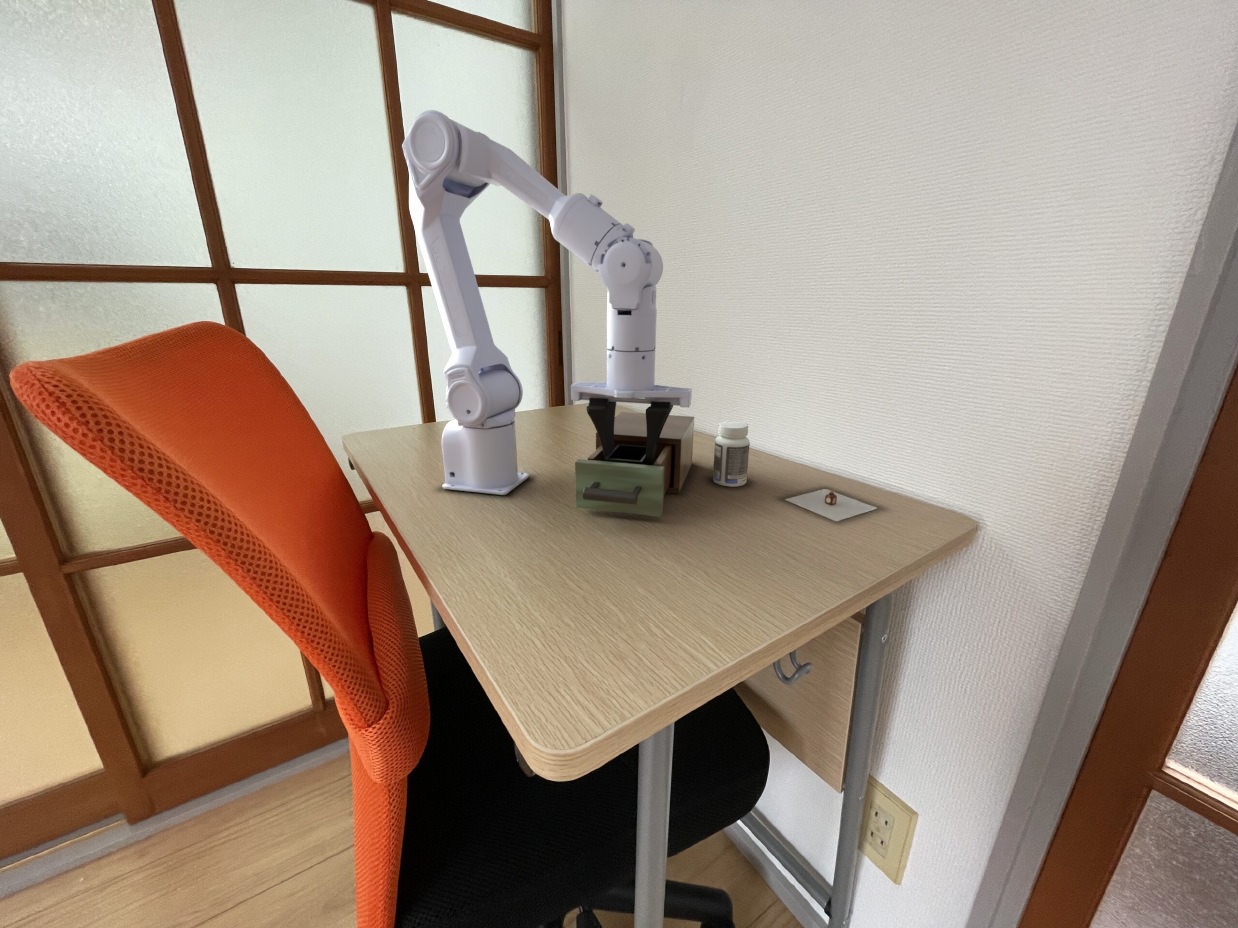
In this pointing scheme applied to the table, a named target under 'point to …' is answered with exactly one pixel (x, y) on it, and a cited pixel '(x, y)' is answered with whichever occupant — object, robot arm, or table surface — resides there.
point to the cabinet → (660, 440)
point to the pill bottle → (731, 454)
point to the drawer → (624, 482)
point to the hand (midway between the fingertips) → (629, 459)
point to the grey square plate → (831, 504)
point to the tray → (628, 455)
